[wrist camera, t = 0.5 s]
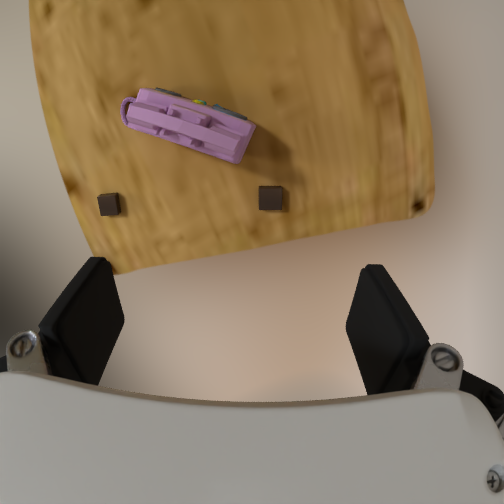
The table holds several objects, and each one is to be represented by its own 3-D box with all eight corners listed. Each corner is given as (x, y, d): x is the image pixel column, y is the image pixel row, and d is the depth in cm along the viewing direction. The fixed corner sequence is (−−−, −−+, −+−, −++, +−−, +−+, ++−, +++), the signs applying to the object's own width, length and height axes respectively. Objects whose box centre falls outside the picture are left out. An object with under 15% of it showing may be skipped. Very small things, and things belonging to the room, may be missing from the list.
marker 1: (100, 194, 38) (97, 196, 37) (117, 192, 38) (114, 195, 37) (104, 213, 39) (100, 216, 38) (121, 211, 39) (118, 215, 38)
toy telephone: (257, 119, 34) (261, 123, 25) (238, 163, 37) (235, 183, 28) (131, 78, 30) (95, 73, 22) (116, 122, 33) (78, 131, 24)
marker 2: (258, 185, 38) (259, 188, 37) (281, 185, 38) (282, 188, 37) (258, 207, 40) (259, 210, 38) (280, 206, 40) (281, 210, 38)
